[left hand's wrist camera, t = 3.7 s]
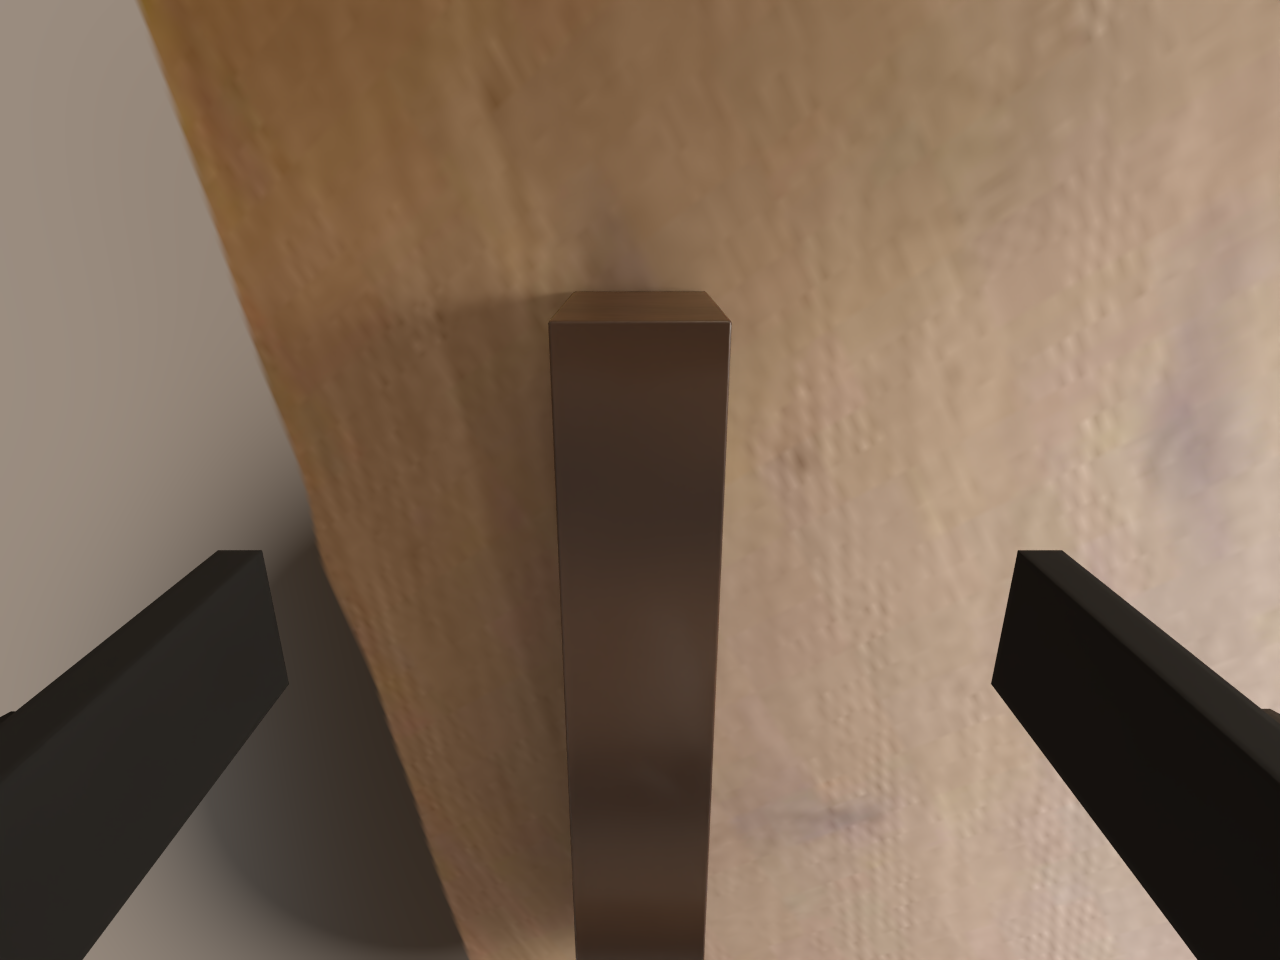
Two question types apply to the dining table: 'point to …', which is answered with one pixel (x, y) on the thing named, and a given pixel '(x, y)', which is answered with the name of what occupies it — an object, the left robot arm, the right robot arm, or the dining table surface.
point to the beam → (639, 607)
